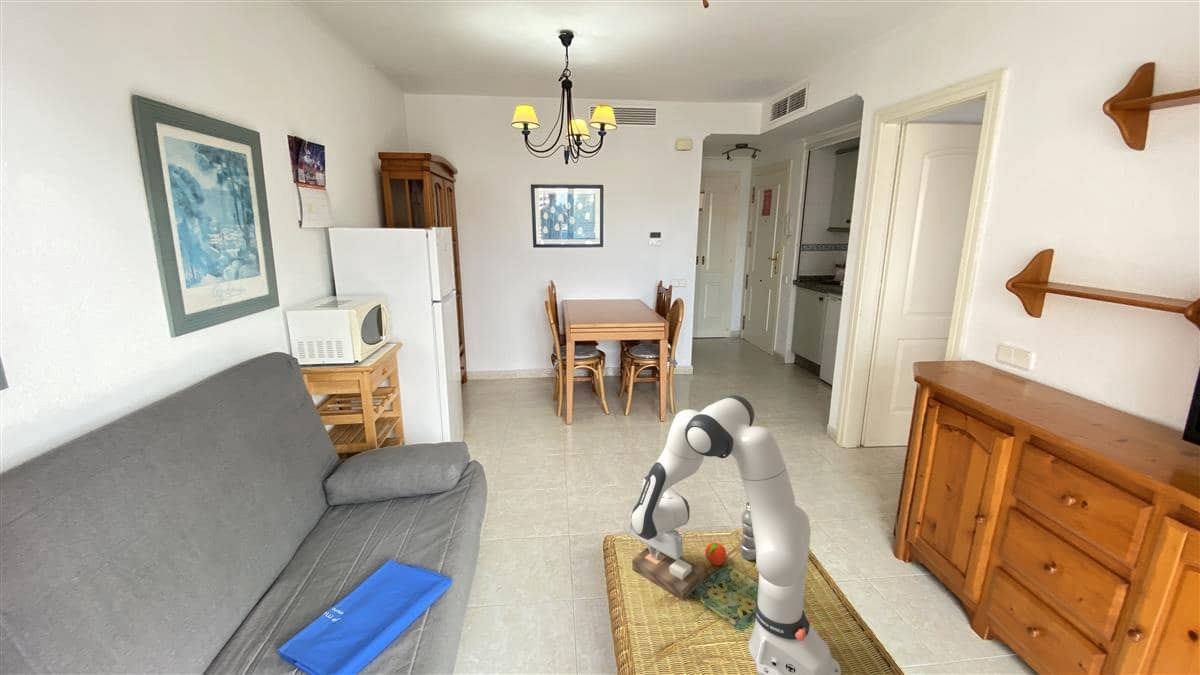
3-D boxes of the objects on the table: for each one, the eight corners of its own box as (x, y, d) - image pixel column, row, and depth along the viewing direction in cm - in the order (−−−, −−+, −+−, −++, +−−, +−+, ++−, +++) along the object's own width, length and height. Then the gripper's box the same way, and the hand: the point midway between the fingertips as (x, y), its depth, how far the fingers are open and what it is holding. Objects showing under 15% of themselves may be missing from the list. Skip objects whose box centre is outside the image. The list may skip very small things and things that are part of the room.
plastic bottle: (739, 561, 162) (741, 508, 157) (739, 548, 168) (742, 497, 163) (759, 564, 160) (762, 511, 155) (759, 551, 166) (762, 500, 162)
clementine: (716, 574, 156) (716, 555, 154) (698, 563, 161) (699, 545, 159) (730, 563, 161) (731, 544, 159) (712, 552, 166) (713, 535, 165)
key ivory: (691, 573, 152) (691, 565, 152) (682, 581, 149) (682, 574, 148) (678, 565, 156) (678, 558, 155) (669, 574, 152) (669, 566, 152)
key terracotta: (665, 564, 160) (665, 556, 159) (656, 571, 156) (656, 564, 155) (653, 557, 163) (653, 550, 162) (644, 564, 159) (644, 557, 159)
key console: (703, 579, 154) (704, 569, 153) (682, 600, 145) (682, 589, 144) (654, 552, 167) (654, 542, 166) (632, 569, 159) (632, 559, 158)
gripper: (687, 529, 151) (686, 566, 154) (637, 504, 165) (637, 539, 168) (676, 538, 146) (675, 577, 150) (625, 512, 160) (626, 548, 163)
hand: (655, 557), depth 159 cm, fingers closed, pressing on key terracotta
